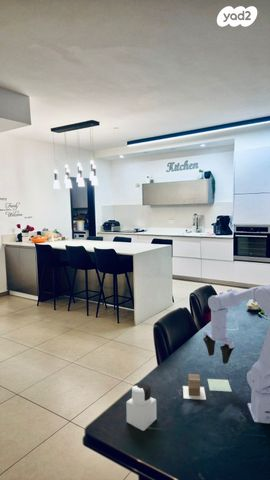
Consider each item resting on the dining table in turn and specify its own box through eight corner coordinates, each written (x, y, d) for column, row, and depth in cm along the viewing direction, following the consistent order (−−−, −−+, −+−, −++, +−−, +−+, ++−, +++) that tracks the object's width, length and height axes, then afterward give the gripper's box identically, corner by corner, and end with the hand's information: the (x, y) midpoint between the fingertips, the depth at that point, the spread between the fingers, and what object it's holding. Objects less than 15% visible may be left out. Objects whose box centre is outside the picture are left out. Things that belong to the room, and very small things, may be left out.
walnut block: (200, 395, 114) (200, 380, 114) (188, 395, 115) (189, 379, 114) (199, 389, 118) (199, 374, 118) (188, 389, 119) (188, 374, 118)
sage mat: (231, 392, 117) (231, 391, 117) (209, 391, 118) (209, 390, 118) (227, 380, 125) (227, 379, 125) (207, 379, 126) (207, 378, 126)
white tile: (206, 400, 112) (206, 399, 112) (183, 399, 113) (183, 398, 113) (203, 388, 120) (203, 386, 120) (182, 386, 121) (182, 385, 121)
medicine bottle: (139, 411, 107) (139, 377, 106) (156, 419, 102) (156, 385, 101) (126, 422, 101) (125, 387, 100) (143, 432, 97) (143, 395, 96)
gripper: (240, 329, 117) (239, 364, 119) (212, 317, 130) (212, 349, 131) (227, 333, 114) (226, 368, 115) (199, 321, 126) (199, 353, 128)
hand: (218, 358), depth 123 cm, fingers open, 7 cm apart
